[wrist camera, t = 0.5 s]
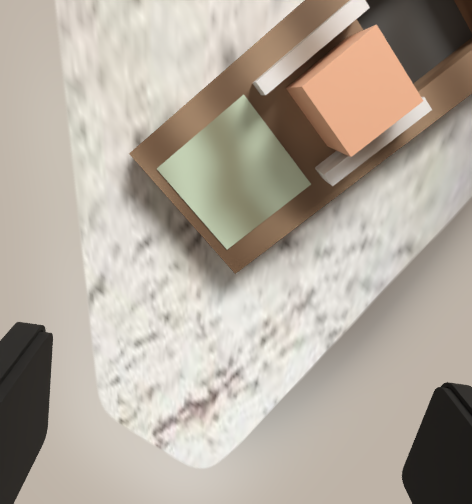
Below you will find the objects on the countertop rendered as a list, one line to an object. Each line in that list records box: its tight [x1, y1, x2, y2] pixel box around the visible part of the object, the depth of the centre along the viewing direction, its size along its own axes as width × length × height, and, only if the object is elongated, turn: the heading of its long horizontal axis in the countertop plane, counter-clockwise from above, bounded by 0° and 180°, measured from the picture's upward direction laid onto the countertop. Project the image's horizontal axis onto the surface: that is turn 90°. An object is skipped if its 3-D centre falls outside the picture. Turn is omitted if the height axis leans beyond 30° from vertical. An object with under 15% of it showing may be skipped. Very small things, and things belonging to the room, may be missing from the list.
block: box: [286, 25, 423, 157], centre depth 28 cm, size 5×5×6 cm
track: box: [129, 0, 472, 274], centre depth 31 cm, size 26×12×6 cm, turn 129°
